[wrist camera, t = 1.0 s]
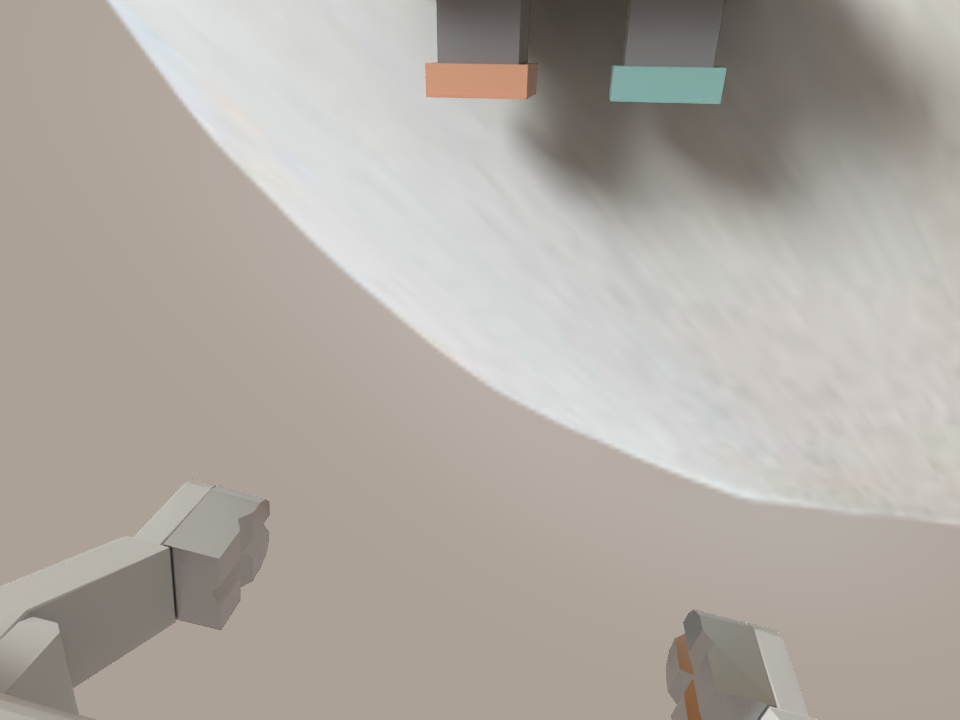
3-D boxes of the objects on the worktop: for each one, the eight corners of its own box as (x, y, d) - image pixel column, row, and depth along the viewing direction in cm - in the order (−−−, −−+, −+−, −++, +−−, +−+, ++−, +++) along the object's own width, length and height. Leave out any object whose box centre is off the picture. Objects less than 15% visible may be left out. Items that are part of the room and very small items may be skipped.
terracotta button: (544, -84, 29) (535, -107, 25) (536, 93, 33) (526, 99, 29) (446, -81, 30) (420, -104, 26) (448, 91, 34) (426, 96, 30)
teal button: (734, -88, 28) (759, -113, 24) (703, 96, 32) (720, 104, 27) (627, -86, 29) (632, -110, 24) (608, 94, 33) (610, 101, 28)
